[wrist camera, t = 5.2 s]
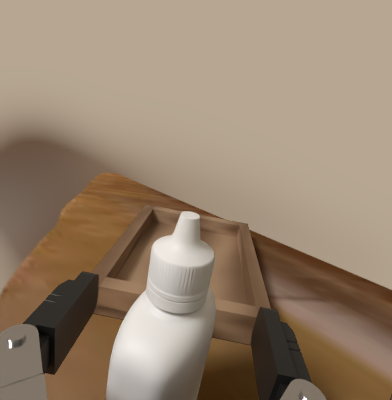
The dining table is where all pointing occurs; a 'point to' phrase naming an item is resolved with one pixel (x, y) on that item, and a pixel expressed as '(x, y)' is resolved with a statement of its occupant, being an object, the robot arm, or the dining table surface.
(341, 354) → the dining table surface
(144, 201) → the dining table surface
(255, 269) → the walnut tray
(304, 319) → the dining table surface
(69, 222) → the dining table surface
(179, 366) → the eye dropper bottle
